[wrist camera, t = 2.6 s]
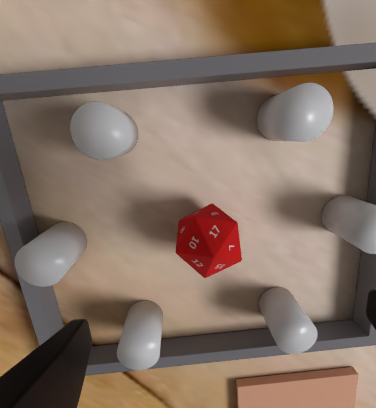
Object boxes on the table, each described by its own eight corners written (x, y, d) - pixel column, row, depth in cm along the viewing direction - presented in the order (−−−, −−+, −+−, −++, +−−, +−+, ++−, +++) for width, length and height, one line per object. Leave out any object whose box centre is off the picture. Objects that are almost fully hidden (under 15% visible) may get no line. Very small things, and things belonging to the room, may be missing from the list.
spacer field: (60, 358, 17) (36, 404, 14) (-19, 85, 12) (-79, 69, 9) (362, 327, 17) (399, 365, 15) (399, 49, 13) (464, 23, 10)
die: (241, 238, 15) (262, 271, 11) (193, 261, 16) (198, 302, 12) (217, 188, 14) (231, 207, 11) (166, 214, 15) (162, 241, 11)
